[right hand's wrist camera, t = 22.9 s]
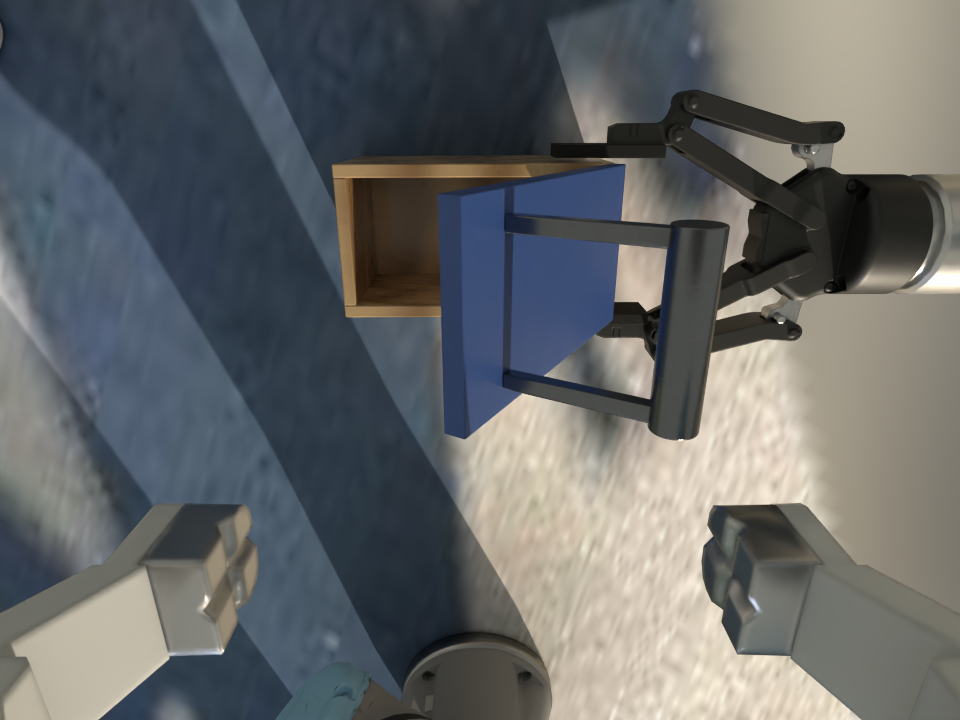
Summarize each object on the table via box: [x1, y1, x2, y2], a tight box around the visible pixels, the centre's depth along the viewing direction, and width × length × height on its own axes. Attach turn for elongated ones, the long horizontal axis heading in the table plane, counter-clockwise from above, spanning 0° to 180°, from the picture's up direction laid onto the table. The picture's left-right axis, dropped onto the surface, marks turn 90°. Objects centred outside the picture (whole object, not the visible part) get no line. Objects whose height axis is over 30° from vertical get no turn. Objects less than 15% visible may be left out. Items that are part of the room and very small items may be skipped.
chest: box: [332, 155, 615, 317], centre depth 40 cm, size 16×9×9 cm, turn 90°
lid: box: [438, 164, 730, 441], centre depth 27 cm, size 17×9×9 cm
